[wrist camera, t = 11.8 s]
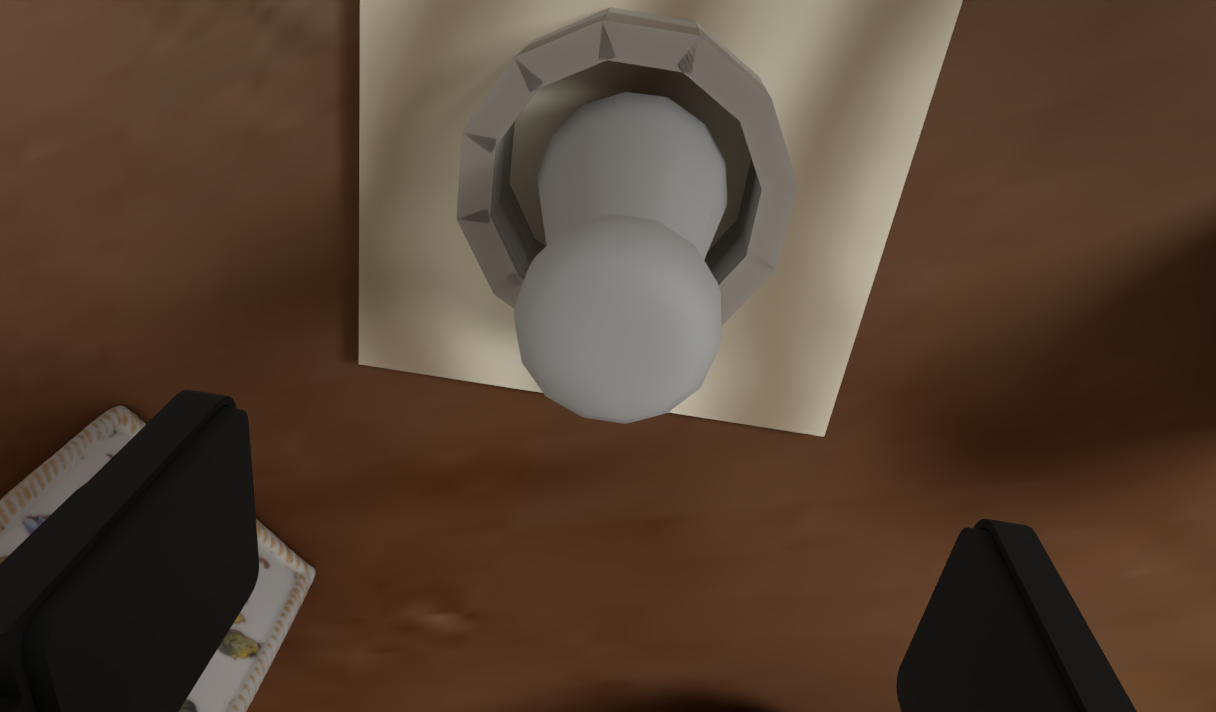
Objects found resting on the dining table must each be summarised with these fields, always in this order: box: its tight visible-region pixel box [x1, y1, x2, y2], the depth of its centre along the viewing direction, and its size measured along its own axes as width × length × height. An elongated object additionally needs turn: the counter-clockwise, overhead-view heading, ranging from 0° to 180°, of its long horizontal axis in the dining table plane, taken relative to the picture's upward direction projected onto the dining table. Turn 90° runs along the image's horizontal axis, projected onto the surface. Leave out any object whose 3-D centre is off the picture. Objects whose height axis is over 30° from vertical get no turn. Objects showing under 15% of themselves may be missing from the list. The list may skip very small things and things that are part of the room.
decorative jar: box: [0, 406, 316, 712], centre depth 30 cm, size 12×12×18 cm
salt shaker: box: [514, 92, 728, 424], centre depth 22 cm, size 6×6×13 cm
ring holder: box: [359, 0, 963, 437], centre depth 27 cm, size 18×18×4 cm
